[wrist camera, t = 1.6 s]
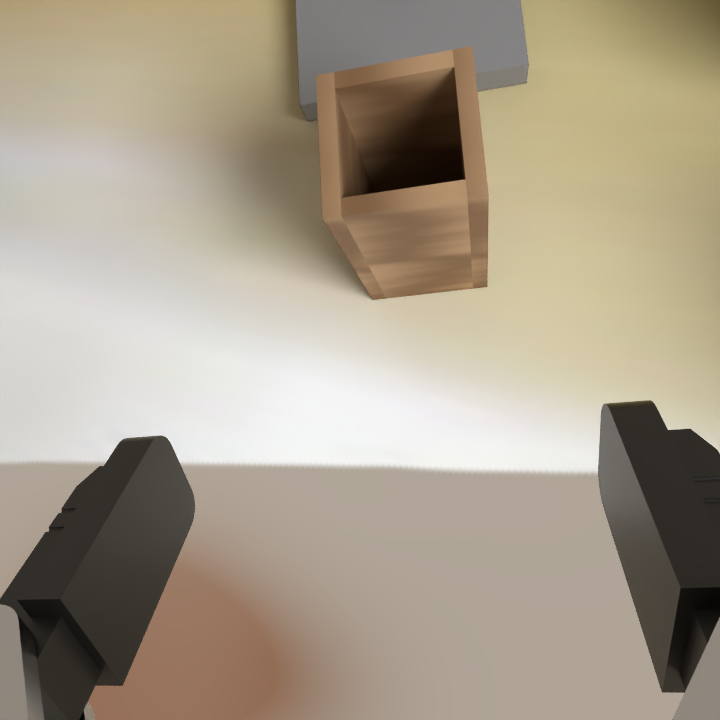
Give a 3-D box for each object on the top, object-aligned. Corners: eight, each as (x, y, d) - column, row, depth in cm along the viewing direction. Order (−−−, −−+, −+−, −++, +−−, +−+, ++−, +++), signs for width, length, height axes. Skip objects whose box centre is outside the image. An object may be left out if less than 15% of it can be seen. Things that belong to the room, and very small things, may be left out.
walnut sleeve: (475, 180, 31) (472, 46, 21) (487, 286, 30) (488, 195, 20) (366, 196, 32) (315, 75, 22) (373, 300, 31) (322, 219, 21)
